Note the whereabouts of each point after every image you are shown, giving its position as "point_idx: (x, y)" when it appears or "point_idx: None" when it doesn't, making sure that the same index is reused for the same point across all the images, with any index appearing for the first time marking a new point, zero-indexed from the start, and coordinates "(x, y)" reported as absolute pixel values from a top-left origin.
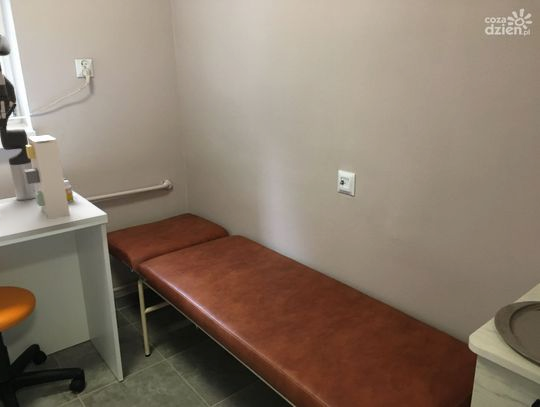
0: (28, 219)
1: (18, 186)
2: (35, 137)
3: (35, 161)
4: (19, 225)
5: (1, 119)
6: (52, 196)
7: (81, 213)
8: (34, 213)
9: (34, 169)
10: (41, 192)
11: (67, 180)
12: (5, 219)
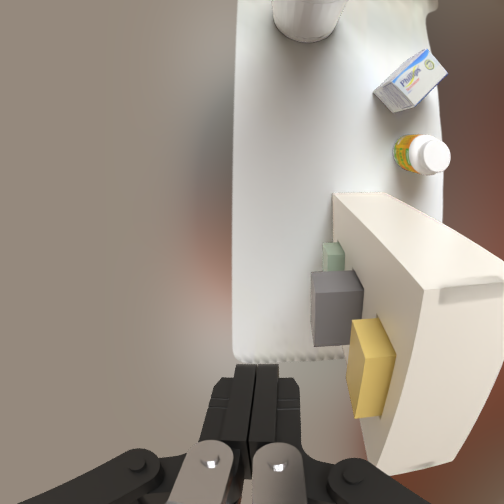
0: (287, 276)
1: (286, 19)
2: (445, 350)
3: None
4: (263, 312)
5: (246, 473)
6: None
7: None
8: (308, 226)
9: (353, 317)
10: None
11: (448, 154)
12: (234, 236)
